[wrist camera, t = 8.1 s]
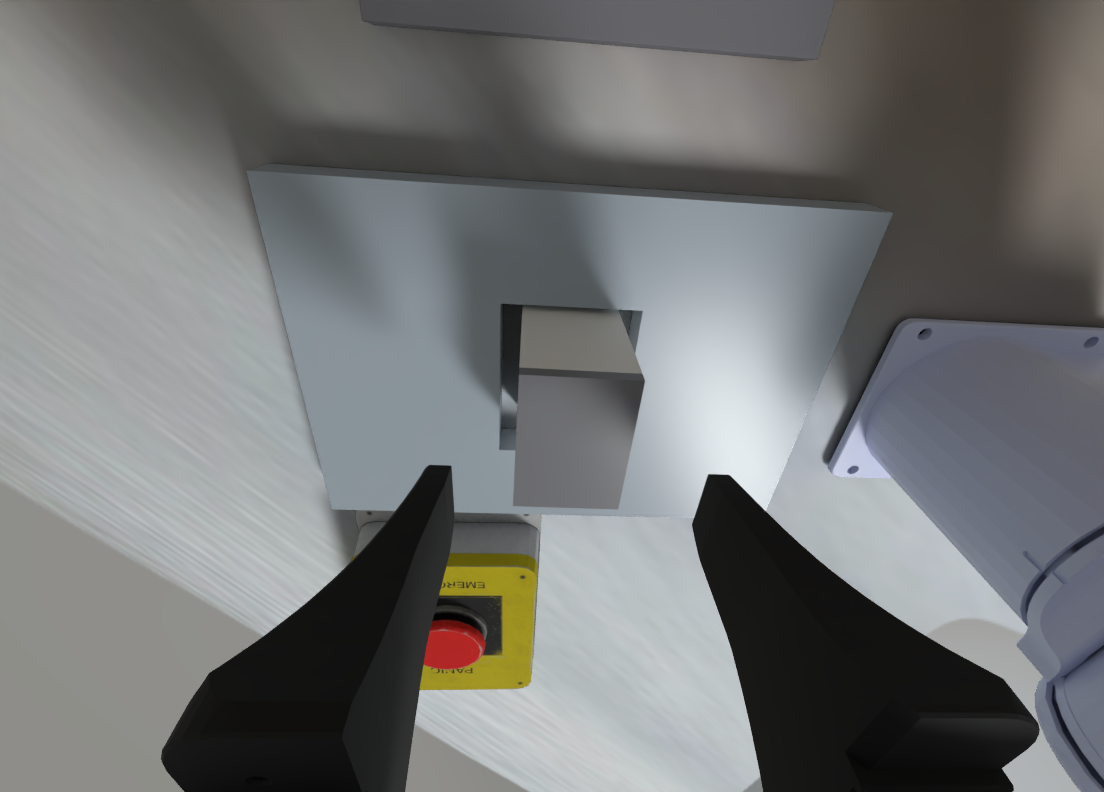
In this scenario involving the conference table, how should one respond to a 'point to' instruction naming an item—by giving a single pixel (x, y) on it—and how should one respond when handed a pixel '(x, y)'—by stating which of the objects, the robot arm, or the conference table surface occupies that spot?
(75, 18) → the conference table surface
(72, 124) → the conference table surface
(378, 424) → the port plate
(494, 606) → the emergency button
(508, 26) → the grey square frame
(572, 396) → the grey block
